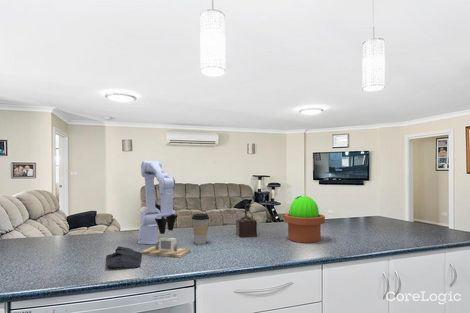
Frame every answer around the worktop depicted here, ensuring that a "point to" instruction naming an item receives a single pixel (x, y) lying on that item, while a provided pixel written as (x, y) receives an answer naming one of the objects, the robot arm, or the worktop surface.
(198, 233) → the coffee cup
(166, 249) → the white rectangular block
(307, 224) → the potted cactus
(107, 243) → the worktop surface
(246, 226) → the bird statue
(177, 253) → the ledge
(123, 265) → the dark slate chunk
